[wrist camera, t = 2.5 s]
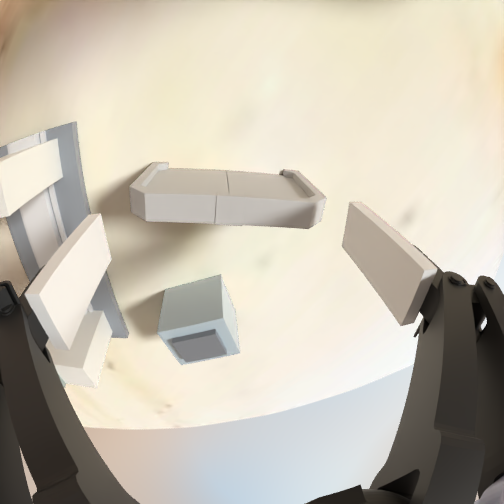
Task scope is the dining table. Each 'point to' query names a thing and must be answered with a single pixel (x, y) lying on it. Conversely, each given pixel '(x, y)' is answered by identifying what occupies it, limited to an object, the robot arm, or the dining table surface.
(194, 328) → the relay block
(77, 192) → the rail board
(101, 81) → the dining table surface
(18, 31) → the dining table surface
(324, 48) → the dining table surface
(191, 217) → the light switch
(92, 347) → the mounted modules
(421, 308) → the robot arm
